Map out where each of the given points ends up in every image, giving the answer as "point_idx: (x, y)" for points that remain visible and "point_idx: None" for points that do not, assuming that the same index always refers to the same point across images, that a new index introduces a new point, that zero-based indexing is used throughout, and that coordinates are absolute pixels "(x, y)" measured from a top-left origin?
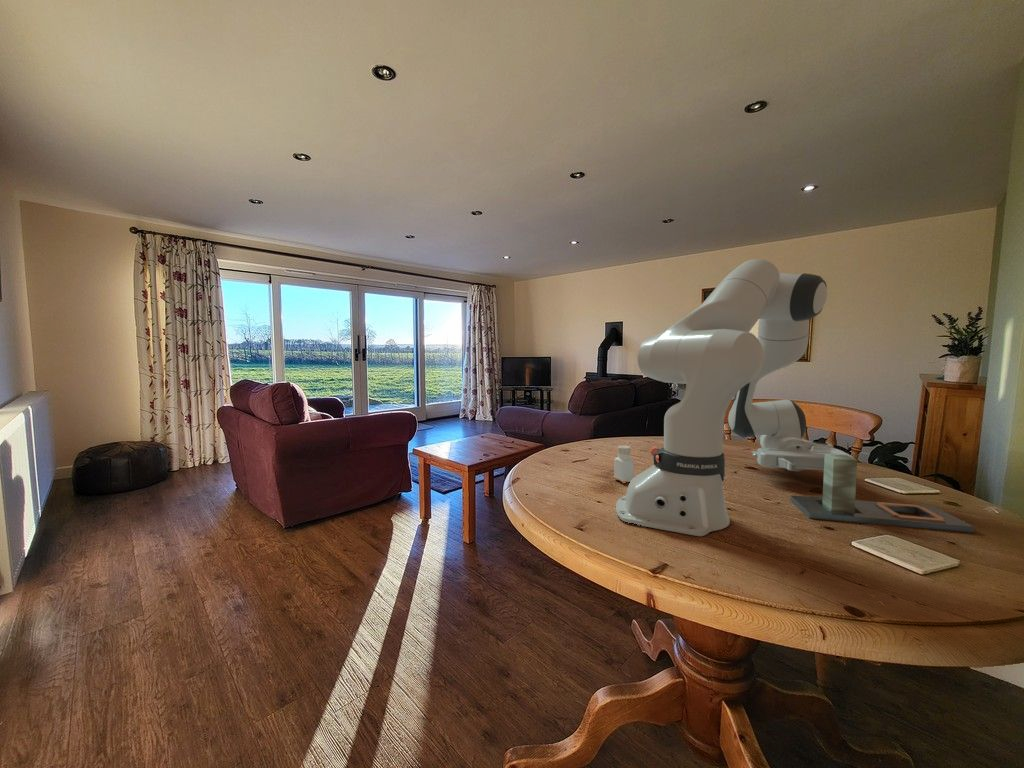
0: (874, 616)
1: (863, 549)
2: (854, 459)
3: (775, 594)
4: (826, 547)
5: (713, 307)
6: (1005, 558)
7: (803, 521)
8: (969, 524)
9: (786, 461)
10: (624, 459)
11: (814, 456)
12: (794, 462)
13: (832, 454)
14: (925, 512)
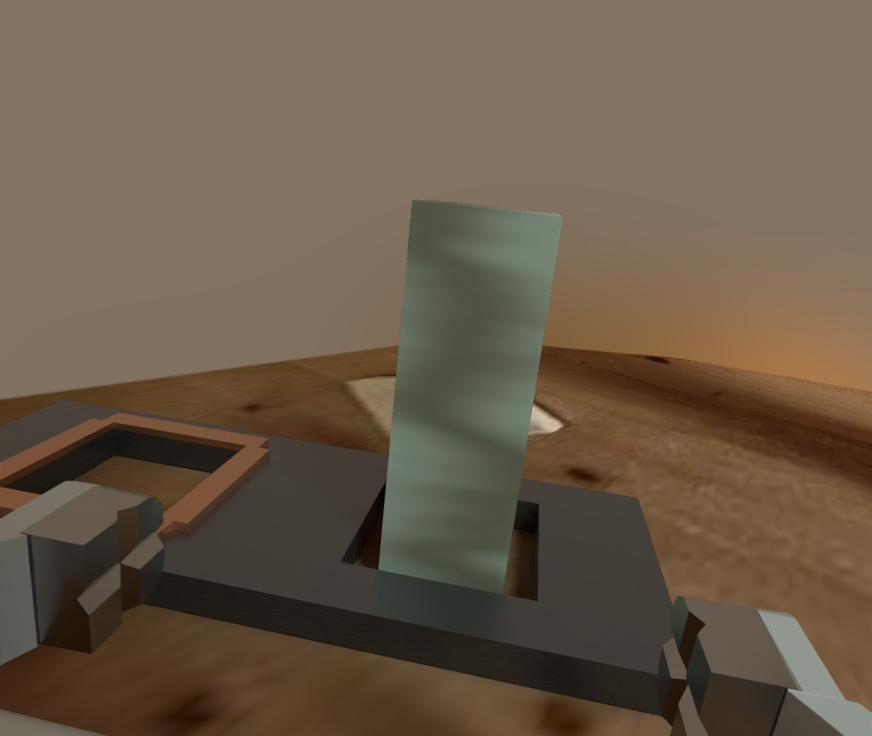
0: (634, 355)
1: (544, 414)
2: (442, 201)
3: (764, 378)
4: (638, 424)
5: None
6: (219, 375)
7: (664, 510)
8: (51, 405)
9: (850, 707)
10: None
11: (90, 733)
12: (703, 627)
13: (509, 210)
14: (48, 462)
